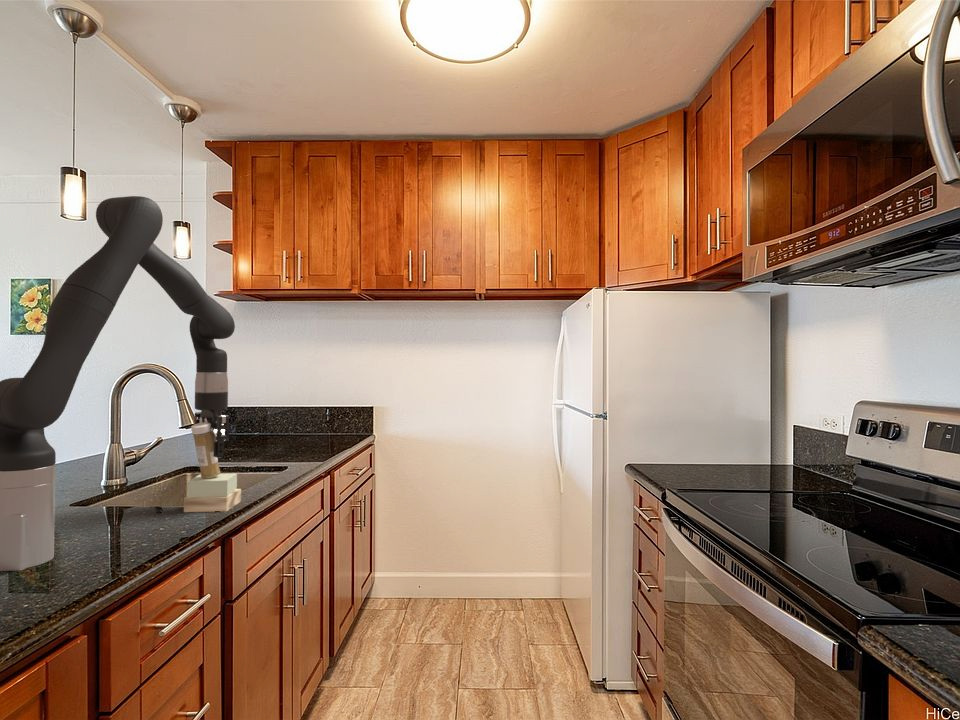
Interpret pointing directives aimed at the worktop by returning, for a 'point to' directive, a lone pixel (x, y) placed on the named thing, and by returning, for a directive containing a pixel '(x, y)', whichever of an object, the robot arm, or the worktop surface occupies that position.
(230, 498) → the tower base
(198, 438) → the sprinkles bottle
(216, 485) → the tower top
